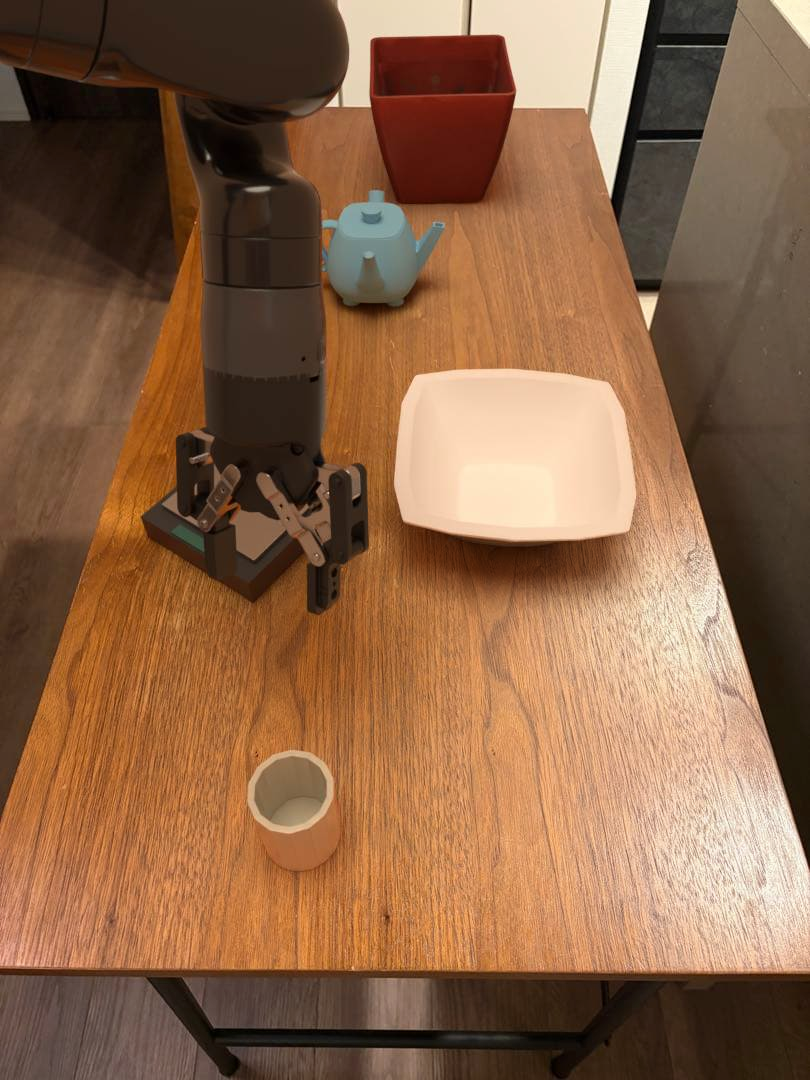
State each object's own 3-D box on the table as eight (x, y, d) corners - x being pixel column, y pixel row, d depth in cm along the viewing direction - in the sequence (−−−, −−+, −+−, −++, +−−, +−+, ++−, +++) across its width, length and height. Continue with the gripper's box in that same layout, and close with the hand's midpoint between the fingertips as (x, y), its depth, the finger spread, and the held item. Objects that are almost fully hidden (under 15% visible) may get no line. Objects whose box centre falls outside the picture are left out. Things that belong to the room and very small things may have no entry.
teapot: (454, 293, 109) (457, 212, 101) (371, 336, 104) (367, 254, 95) (380, 244, 117) (377, 164, 108) (299, 282, 111) (289, 201, 103)
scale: (253, 602, 79) (248, 582, 76) (147, 536, 84) (139, 514, 81) (357, 498, 87) (355, 476, 85) (255, 443, 92) (250, 421, 90)
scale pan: (254, 564, 78) (253, 560, 77) (162, 508, 82) (160, 504, 82) (335, 486, 84) (335, 482, 84) (245, 437, 88) (244, 433, 88)
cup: (307, 888, 63) (296, 851, 56) (246, 840, 65) (228, 799, 59) (357, 823, 66) (351, 780, 59) (296, 779, 68) (285, 734, 62)
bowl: (604, 431, 93) (619, 371, 87) (625, 602, 79) (645, 545, 72) (405, 423, 94) (404, 363, 88) (389, 590, 80) (388, 533, 73)
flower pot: (373, 216, 121) (368, 94, 108) (374, 152, 134) (370, 35, 120) (506, 215, 122) (517, 93, 108) (495, 150, 134) (504, 34, 121)
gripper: (135, 351, 52) (155, 586, 59) (324, 386, 46) (323, 646, 52) (218, 334, 58) (228, 549, 65) (395, 364, 52) (387, 599, 58)
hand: (270, 592), depth 58 cm, fingers open, 8 cm apart
